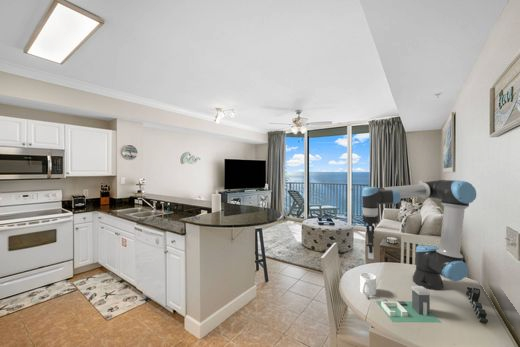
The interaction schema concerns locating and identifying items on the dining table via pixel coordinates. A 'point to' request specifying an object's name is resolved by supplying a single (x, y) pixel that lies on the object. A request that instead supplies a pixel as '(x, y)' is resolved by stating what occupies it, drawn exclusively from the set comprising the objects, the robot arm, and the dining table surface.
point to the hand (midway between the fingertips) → (370, 254)
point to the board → (412, 314)
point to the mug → (367, 284)
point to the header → (393, 304)
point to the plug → (421, 300)
